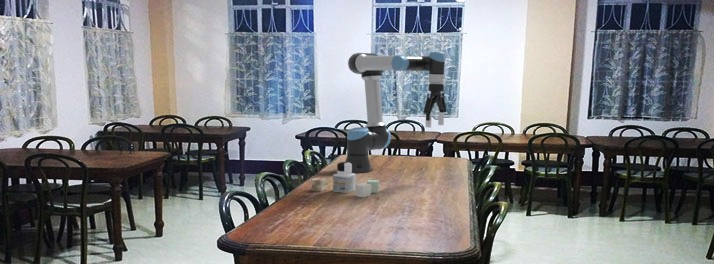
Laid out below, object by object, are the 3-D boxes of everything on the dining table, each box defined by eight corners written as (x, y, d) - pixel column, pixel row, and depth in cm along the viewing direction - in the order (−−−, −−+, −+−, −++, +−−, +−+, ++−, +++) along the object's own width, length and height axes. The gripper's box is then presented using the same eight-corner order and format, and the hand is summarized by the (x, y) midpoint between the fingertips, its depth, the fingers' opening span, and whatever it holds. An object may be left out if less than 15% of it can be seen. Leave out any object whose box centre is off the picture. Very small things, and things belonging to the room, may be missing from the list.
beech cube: (311, 190, 238) (311, 179, 237) (316, 188, 242) (316, 177, 242) (321, 191, 236) (321, 180, 235) (326, 189, 240) (326, 178, 240)
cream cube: (354, 195, 229) (354, 184, 228) (363, 193, 232) (363, 182, 232) (362, 197, 225) (362, 186, 225) (370, 195, 229) (371, 184, 228)
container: (332, 191, 236) (332, 163, 235) (341, 188, 243) (341, 160, 241) (347, 193, 232) (347, 164, 231) (355, 190, 239) (356, 162, 238)
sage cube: (366, 192, 234) (367, 181, 234) (368, 190, 239) (368, 179, 239) (377, 193, 234) (378, 182, 233) (378, 190, 239) (379, 180, 238)
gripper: (431, 83, 246) (429, 128, 249) (454, 83, 266) (452, 124, 269) (417, 83, 251) (415, 127, 253) (440, 82, 271) (439, 123, 273)
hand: (434, 126), depth 261 cm, fingers open, 13 cm apart
